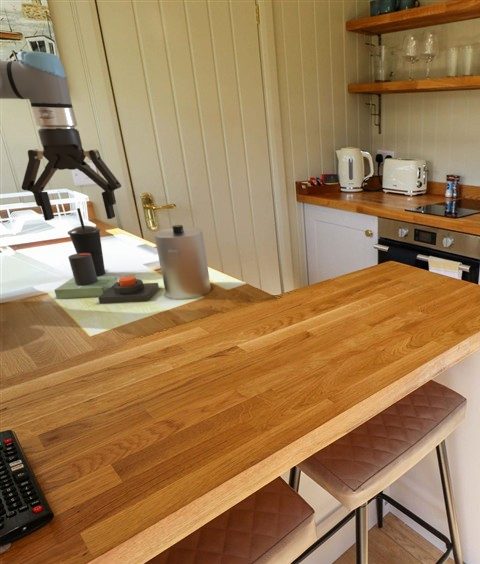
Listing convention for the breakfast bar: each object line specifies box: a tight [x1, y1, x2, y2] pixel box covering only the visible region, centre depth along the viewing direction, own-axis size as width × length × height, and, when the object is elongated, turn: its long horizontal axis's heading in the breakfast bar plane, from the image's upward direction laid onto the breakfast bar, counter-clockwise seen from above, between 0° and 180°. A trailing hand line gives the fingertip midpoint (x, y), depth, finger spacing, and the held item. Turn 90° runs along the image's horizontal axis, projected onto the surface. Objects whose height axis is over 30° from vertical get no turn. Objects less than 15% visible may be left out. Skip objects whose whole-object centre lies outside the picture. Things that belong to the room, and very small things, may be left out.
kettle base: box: [97, 278, 160, 304], centre depth 111 cm, size 11×9×4 cm
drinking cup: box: [67, 207, 106, 277], centre depth 123 cm, size 8×8×20 cm
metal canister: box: [153, 224, 212, 300], centre depth 111 cm, size 14×11×19 cm
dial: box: [68, 253, 98, 285], centre depth 111 cm, size 5×5×8 cm
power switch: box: [118, 275, 136, 286], centre depth 110 cm, size 4×4×2 cm
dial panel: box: [54, 275, 119, 300], centre depth 113 cm, size 11×9×3 cm
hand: (81, 218), depth 105 cm, fingers open, 13 cm apart
